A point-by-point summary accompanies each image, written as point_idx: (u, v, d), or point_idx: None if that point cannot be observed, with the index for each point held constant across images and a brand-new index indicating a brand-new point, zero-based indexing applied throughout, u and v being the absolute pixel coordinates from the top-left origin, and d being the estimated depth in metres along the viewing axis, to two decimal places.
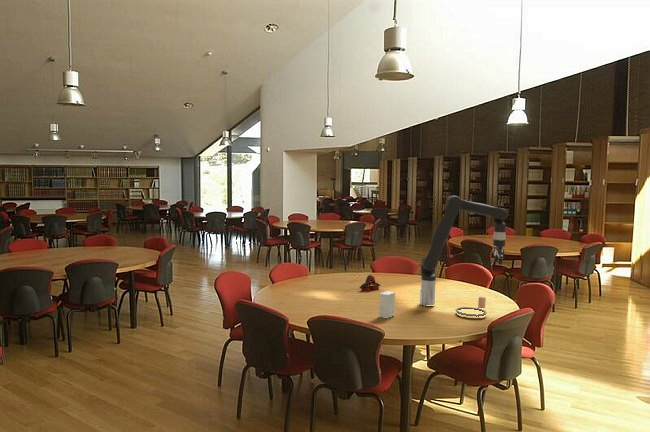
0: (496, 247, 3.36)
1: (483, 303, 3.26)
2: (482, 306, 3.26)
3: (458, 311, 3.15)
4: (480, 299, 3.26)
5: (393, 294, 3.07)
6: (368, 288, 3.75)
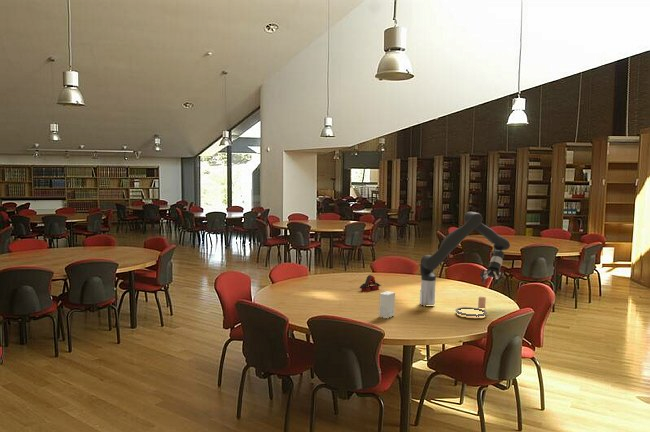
0: None
1: (483, 303, 3.26)
2: (482, 306, 3.26)
3: (458, 311, 3.15)
4: (480, 299, 3.26)
5: (393, 294, 3.07)
6: (368, 288, 3.75)
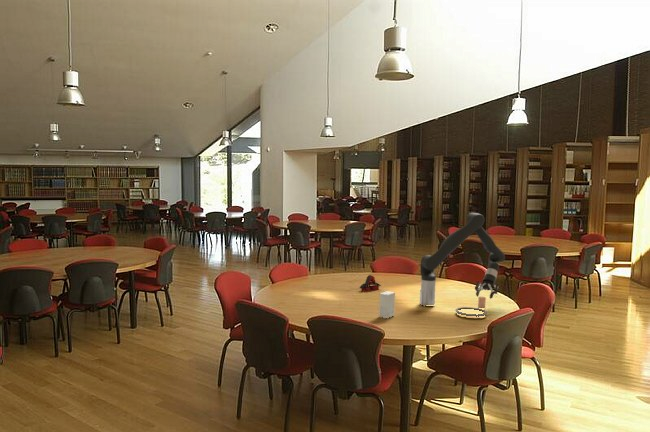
0: (485, 282, 3.36)
1: (483, 303, 3.26)
2: (482, 306, 3.26)
3: (458, 311, 3.15)
4: (480, 299, 3.27)
5: (393, 294, 3.07)
6: (368, 288, 3.75)
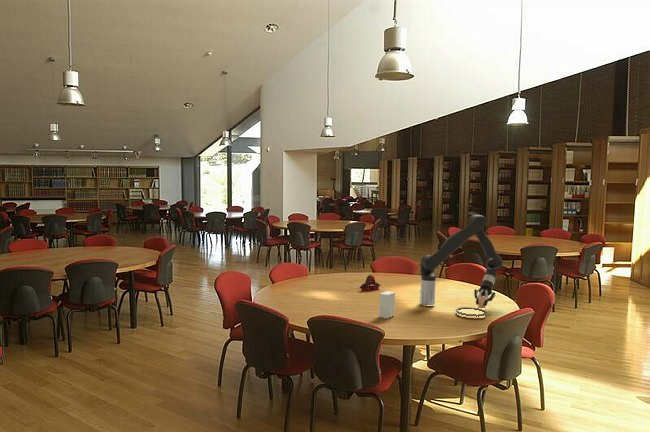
0: (482, 289, 3.33)
1: (483, 303, 3.26)
2: (482, 306, 3.26)
3: (458, 311, 3.15)
4: (480, 299, 3.26)
5: (393, 294, 3.07)
6: (368, 288, 3.75)
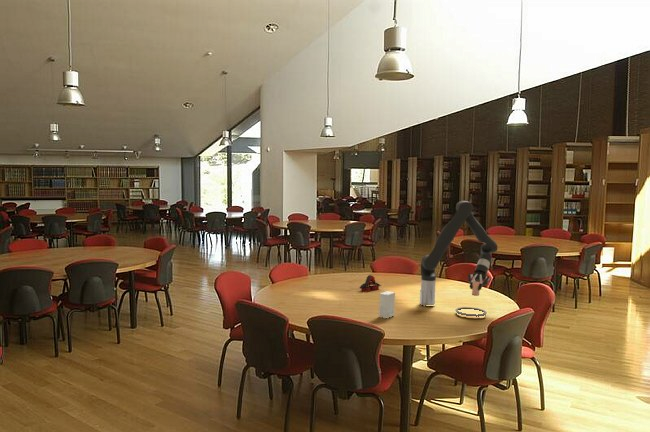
0: (477, 273, 3.25)
1: (477, 287, 3.18)
2: (476, 290, 3.18)
3: (458, 311, 3.15)
4: (474, 283, 3.19)
5: (393, 294, 3.07)
6: (368, 288, 3.75)
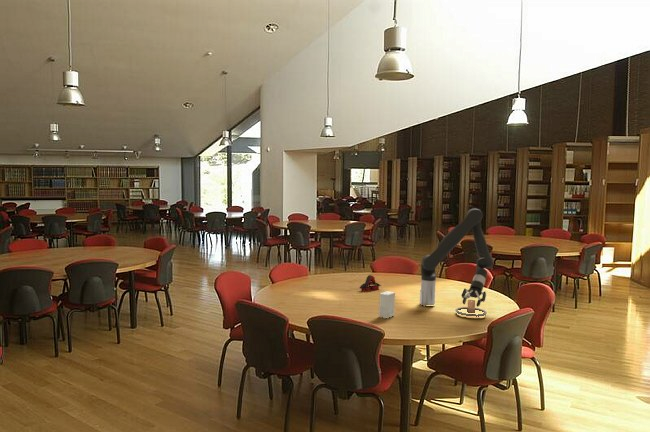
0: (472, 289, 3.21)
1: (472, 306, 3.14)
2: (471, 309, 3.14)
3: (458, 311, 3.15)
4: (469, 302, 3.15)
5: (393, 294, 3.07)
6: (368, 288, 3.75)
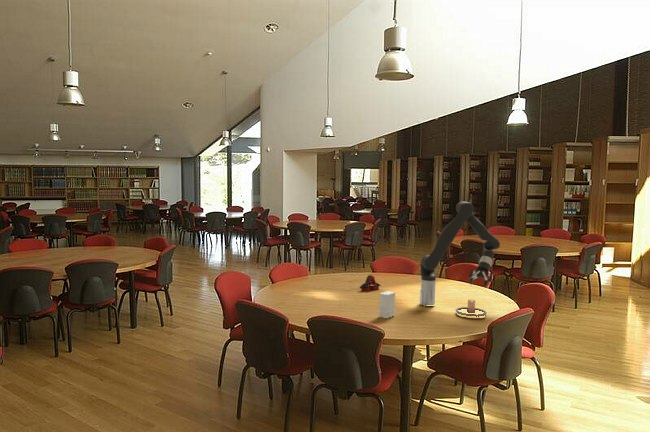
0: (479, 270, 3.30)
1: (472, 306, 3.14)
2: (471, 309, 3.14)
3: (458, 311, 3.15)
4: (469, 302, 3.15)
5: (393, 294, 3.07)
6: (368, 288, 3.75)
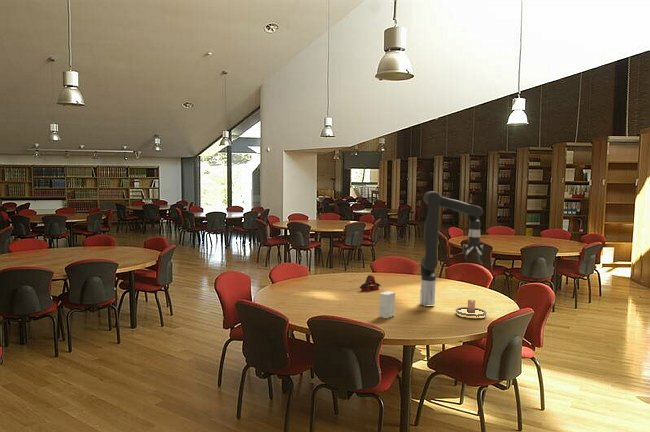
0: (472, 245, 3.38)
1: (472, 306, 3.14)
2: (471, 309, 3.14)
3: (458, 311, 3.15)
4: (469, 302, 3.15)
5: (393, 294, 3.07)
6: (368, 288, 3.75)
